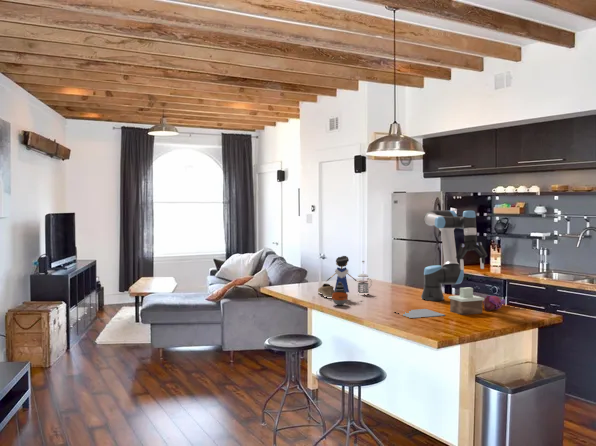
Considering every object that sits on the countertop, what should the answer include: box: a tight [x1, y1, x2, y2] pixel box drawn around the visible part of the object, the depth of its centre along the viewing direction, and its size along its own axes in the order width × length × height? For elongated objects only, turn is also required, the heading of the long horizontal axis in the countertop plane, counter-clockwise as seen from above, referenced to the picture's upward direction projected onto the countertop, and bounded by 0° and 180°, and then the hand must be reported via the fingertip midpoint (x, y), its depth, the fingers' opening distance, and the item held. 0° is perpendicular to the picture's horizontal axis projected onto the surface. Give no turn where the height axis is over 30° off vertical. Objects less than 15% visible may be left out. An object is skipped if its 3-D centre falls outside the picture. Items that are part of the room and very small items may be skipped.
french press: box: [357, 260, 373, 293], centre depth 378 cm, size 10×12×25 cm
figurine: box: [325, 255, 359, 293], centre depth 361 cm, size 23×9×30 cm, turn 84°
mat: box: [402, 308, 446, 319], centre depth 307 cm, size 20×24×1 cm
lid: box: [448, 286, 485, 302], centre depth 311 cm, size 12×16×7 cm
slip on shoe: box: [317, 283, 335, 297], centre depth 375 cm, size 30×11×9 cm, turn 3°
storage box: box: [449, 299, 484, 316], centre depth 312 cm, size 11×15×8 cm
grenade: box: [331, 282, 349, 306], centre depth 335 cm, size 11×10×15 cm
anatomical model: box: [483, 294, 506, 312], centre depth 321 cm, size 12×10×15 cm
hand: (472, 269), depth 318 cm, fingers open, 13 cm apart
